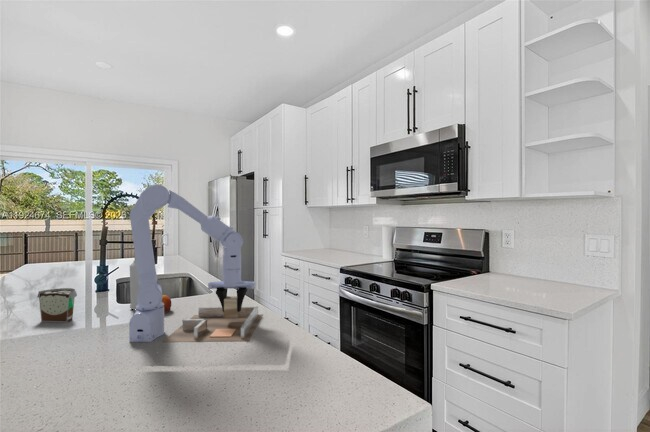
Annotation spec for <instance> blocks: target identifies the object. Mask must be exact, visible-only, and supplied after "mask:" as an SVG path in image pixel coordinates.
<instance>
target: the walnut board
mask: <svg viewBox="0 0 650 432" xmlns="http://www.w3.org/2000/svg"><path fill="white" fill-rule="evenodd" d="M263 316H264V314H258V317H257V318H256V320H255V322H254V323H253V325H252V327H251V328H250V330H249V332H248V333H247V335H246V337H245V338H244V339H241V327H242V325H243V324H244V322H245V321H246V320H247V318H248V317H249V316H238V317H237V318H224V317H198V314H194V315H193V316H192V317H190V318H189V319H207V330H206V331H205V332H204V333H203V334H202V335H201V336H200V337H199V338H198V339H194V330H183V324H181V326H180V327H178V328H177V329H175V330H174V331H173V332H171V334H170V335H168V336H167V337H165V339H163V340H162V341H161V343H206V342H207V343H208V342H209V343H210V342H211V343H214V342H215V343H218V342H220V343H221V342H226V343H228V342H230V343H232V342H238V343H239V342H249V341H250V338H252V335H253V333H254V332H255V330H256V328H257V326H258V324H260V321H261V319H262V317H263ZM216 329H236V331H235V332H234V334H233V335H232V337H210V335H211V334H212V333H213V332H214V331H215V330H216Z"/></svg>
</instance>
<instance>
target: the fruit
mask: <svg viewBox="0 0 650 432" xmlns="http://www.w3.org/2000/svg"><path fill="white" fill-rule="evenodd" d="M162 302H163V303H164V315H165V314H167V313H169V312H170V311H171V308H172V299H171V297H170V296H169V295H167V294H162Z"/></svg>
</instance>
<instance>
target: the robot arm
mask: <svg viewBox="0 0 650 432" xmlns="http://www.w3.org/2000/svg"><path fill="white" fill-rule="evenodd" d="M167 204H168V205H167ZM166 205H167V208H170V209H175V210H179V211H181V212H182V213H183V214H185V215H186V216H188V217H189V218H190V219H193V220H194V221H195V222H197V223H199V224H200V229H201V231H202V232H203V233H204V234H206V235H208V236H209V237H210V238H212V239H213V240H215V241H216V242H218V243H219V242H220V244H221V246H223V247H222V281H209V282H208V283H207V284H208V285H207V288H208V290H212V289H214V290H215V289H216V291H215V294H216V296H217V298H218V300H219V302H220V306H221V307H222V309H223V312H224V299H225V298H226V297H227V296H228V290H229V289H237V290H236V296H237V300H238V304H237V311H238V312H240V311H241V307H243V301H244V299H245V295H246V294H247V291H248V290H249V289H251V290H254V289H255V288H256V281H250V280H249V281H247V280H246V281H245V280H242V249H241V248H242V246H243V245H244V240H243V237H242V235H241V234H240V233H239V232H237V231H235V230H233V229H234V227H232V226H229V225H227V224H226V223H224V222H223V221H222V218H221V217H220V216H215V215H206V214H205V213H204V212H202V211H201V210H200V209H198V208H197V207H196V206H194V205H193V204H192V203H191V202H189V201H188V200H187V199H186V198H184V197H182V196H181V195H179V194H178V193H176V192H174V191H172V190H168V189H167V188H166V186H164V185H161V184H156V183H155V184H152V185H150V186H148V187H147V188H145V189H144V190H143V191H142V192H140V194H139V197H138V198H137V200H136V201H135V204H134V205H133V207H132V209H131V210H130V212H129V221H130V227H131V234H132V240H133V248H134V257H135V256H136V263H137V270H138V277H139V293H138V295H137V303H138V305H137V306H136V310H135V313H134V314H133V315H132V316H131V318H130V319H129V322H128V323H129V325H128V326H129V327H128V328H129V333H128V334H129V337H128V338H129V342H133V343H135V342H136V343H138V342H139V343H140V342H141V343H143V342H144V343H145V342H147V343H149V342H152V341H154V340H155V339H157V338H158V337H161V336H163V335H164V334H165V314H164V303H163V302H162V295H163V292H164V291H163V287H162V286H163V285H162V284H160V282H159V280H158V273H157V269H156V263H155V255H154V249H153V241H152V240H153V239H152V234H151V227H150V218H151V217H152V216H153V215H154V214H155V213H156V211H158V210H160V209H162V208H163V207H164V206H166Z"/></svg>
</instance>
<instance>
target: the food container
mask: <svg viewBox="0 0 650 432" xmlns="http://www.w3.org/2000/svg"><path fill="white" fill-rule="evenodd" d="M76 297H78V293H77V291H76V289H75V288H71V287H66V288H65V287H63V288H52V289H51V288H50V289H45V290H40V291H38V293H37V296H36V298H38V301H39V309H40V310H39V311H40V319H41V322H44V323H45V322H46V323H49V322H51V323H69V322H71V321H72V320H73V316H74V308H75V307H74V306H75V298H76Z"/></svg>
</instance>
